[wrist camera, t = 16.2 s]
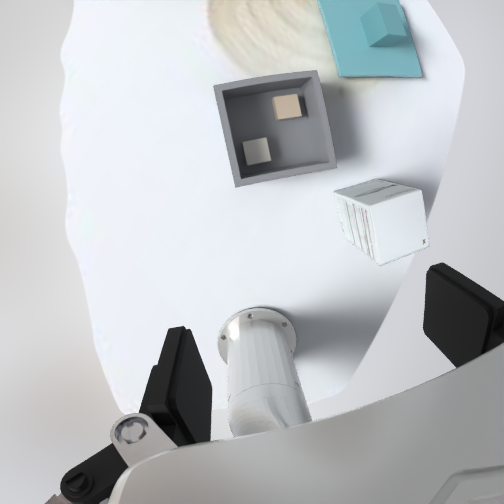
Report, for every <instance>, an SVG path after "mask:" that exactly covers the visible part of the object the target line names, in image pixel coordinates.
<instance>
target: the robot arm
mask: <svg viewBox="0 0 504 504" xmlns="http://www.w3.org/2000/svg"><path fill="white" fill-rule="evenodd" d="M249 314H251V315H249ZM283 322H284V323H283ZM423 330H424V333H425V335H426V336H427V337H428V338H429V339H430V340H431V341H432V342H433V343H434V344H435V345H436V346H437V347H438V348H439V349H440V350H441V352H442V353H443V354H444V355H445V356H446V357H447V358H448V359H449V360H450V361H451V362H452V363H453V364H454V366H455V367H456V369H454V370H452V371H449V372H447V373H445V374H443V375H441V376H439V377H436V378H434V379H432V380H430V381H428V382H425V383H423V384H420V385H418V386H416V387H413V388H411V389H408V390H406V391H404V392H401V393H398V394H396V395H393V396H390V397H388V398H385V399H382V400H379V401H377V402H374V403H371V404H368V405H365V406H362V407H359V408H356V409H353V410H350V411H346V412H343V413H340V414H337V415H333V416H330V417H326V418H322V419H318V420H315V421H312V419H311V416H310V413H309V409H308V406H307V403H306V400H305V396H304V393H303V390H302V387H301V383H300V380H299V377H298V373H297V370H296V367H295V363H294V360H293V357H292V355H293V353H294V351H295V348H296V343H297V339H296V333H295V330H294V328H293V325H292V324H291V322H290V321H289V320H288V319H287V318H286V317H285V316H284V315H282V314H280V313H279V312H277V311H274V310H271V309H265V308H253V309H247V310H244V311H241V312H239V313H237V314H235V315H233V316H232V317H231V318H229V319H228V320H227V321H226V322H225V324H224V325H223V326H222V328H221V330H220V332H219V336H218V351H219V354H220V356H221V358H222V359H223V361H224V362H225V363H226V364H227V365H228V420H229V425H230V429H231V431H232V433H233V435H234V437H233V438H227V439H221V440H215V441H210V438H211V436H210V435H211V410H212V385H211V382H210V379H209V377H208V374H207V372H206V369H205V367H204V364H203V361H202V359H201V356H200V353H199V351H198V348H197V345H196V343H195V340H194V337H193V334H192V332H191V330H190V329H186V328H185V327H184V326H181V327H175V328H169V329H168V332H167V335H166V338H165V341H164V345H163V348H162V351H161V355H160V358H159V361H158V365H154V366H153V368H152V370H151V373H150V376H149V380H148V383H147V386H146V390H145V393H144V396H143V400H142V403H141V407H140V410H139V413H133V414H128V415H126V416H124V417H122V418H120V419H119V420H118V421H116V422H115V424H114V425H113V426H112V428H111V431H110V438H111V441H112V444H110V445H109V446H107V447H106V448H104V449H103V450H101V451H100V452H98V453H96V454H95V455H93V456H92V457H90V458H89V459H87V460H85V461H84V462H82V463H81V464H79V465H77V466H76V467H74V468H72V469H71V470H69V471H68V472H67V473H66V474H65V475H64V477H63V478H62V481H61V484H60V489H61V492H62V493H61V494H60V495H59V496H56V495H55V494H54V495H53V496H52V497H51V498H50V499H49V500H48V501H47V502H46V503H45V504H504V301H503V300H501V299H500V298H498V297H497V296H495V295H494V294H492V293H491V292H489V291H488V290H486V289H485V288H483V287H482V286H480V285H478V284H477V283H475V282H474V281H472V280H471V279H469V278H467V277H466V276H464V275H463V274H461V273H460V272H458V271H456V270H455V269H453V268H451V267H450V266H448V265H446V264H445V263H439V264H436V265H432V266H430V268H429V270H428V271H427V274H426V293H425V310H424V322H423Z"/></svg>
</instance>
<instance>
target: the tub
mask: <svg viewBox="0 0 504 504" xmlns="http://www.w3.org/2000/svg"><path fill="white" fill-rule="evenodd" d="M213 87H214V91H215V96H216V101H217V105H218V110H219V114H220V119H221V124H222V128H223V133H224V137H225V142H226V146H227V151H228V156H229V160H230V165H231V169H232V174H233V178H234V183H235V188H236V187H241V186H245V185H250V184H255V183H259V182H264V181H269V180H274V179H279V178H284V177H290V176H295V175H300V174H306V173H311V172H317V171H323V170H329V169H335V168H337V164H336V158H335V152H334V147H333V141H332V136H331V131H330V126H329V121H328V116H327V111H326V107H325V102H324V98H323V93H322V89H321V85H320V80H319V76H318V72H317V70H313V71H302V72H293V73H285V74H277V75H270V76H263V77H257V78H251V79H245V80H240V81H234V82H229V83H224V84H219V85H215V86H213Z"/></svg>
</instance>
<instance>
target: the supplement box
mask: <svg viewBox="0 0 504 504" xmlns="http://www.w3.org/2000/svg"><path fill="white" fill-rule="evenodd" d="M333 193H334V197H335V201H336V205H337V209H338V213H339V217H340V222H341V226H342V230H343V234H344V237H345V238H346V239H347V240H349V241H350V242H351V243H352V244H353V245H355V246H356V247H357V248H358V249H360V250H361V251H362V252H363V253H365V254H366V255H367V256H368V257H369V258H371V259H372V260H373V261H374V262H375V263H376V264H378V265H379V266H382V265H384V264H387V263H390V262H392V261H395V260H397V259H400V258H402V257H405V256H408V255H410V254H412V253H415V252H417V251H420V250H422V249H425V248H427V247H429V241H428V240H429V239H428V230H427V222H426V214H425V207H424V201H423V195H422V190H421V189H417V188H412V187H408V186H404V185H400V184H396V183H392V182H387V181H383V180H378V179H374V180H371V181H368V182H365V183H362V184H358V185H355V186H352V187H348V188H344V189H341V190H337V191H333Z"/></svg>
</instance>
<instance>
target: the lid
mask: <svg viewBox="0 0 504 504" xmlns="http://www.w3.org/2000/svg"><path fill="white" fill-rule="evenodd" d="M317 2H318V5H319V9H320V12H321V15H322V18H323V21H324V25H325V28H326V31H327V35H328V38H329V42H330V45H331V49H332V53H333V56H334V60H335V64H336V68H337V72H338V76H339V78H342V77H373V76H391V77H422V72H421V68H420V64H419V61H418V57H417V53H416V50H415V46H414V43H413V40H412V37H411V33H410V30H409V27H408V24H407V21H406V18H405V16H404V13H403V10H402V7H401V5H400V2H399V0H317Z"/></svg>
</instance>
